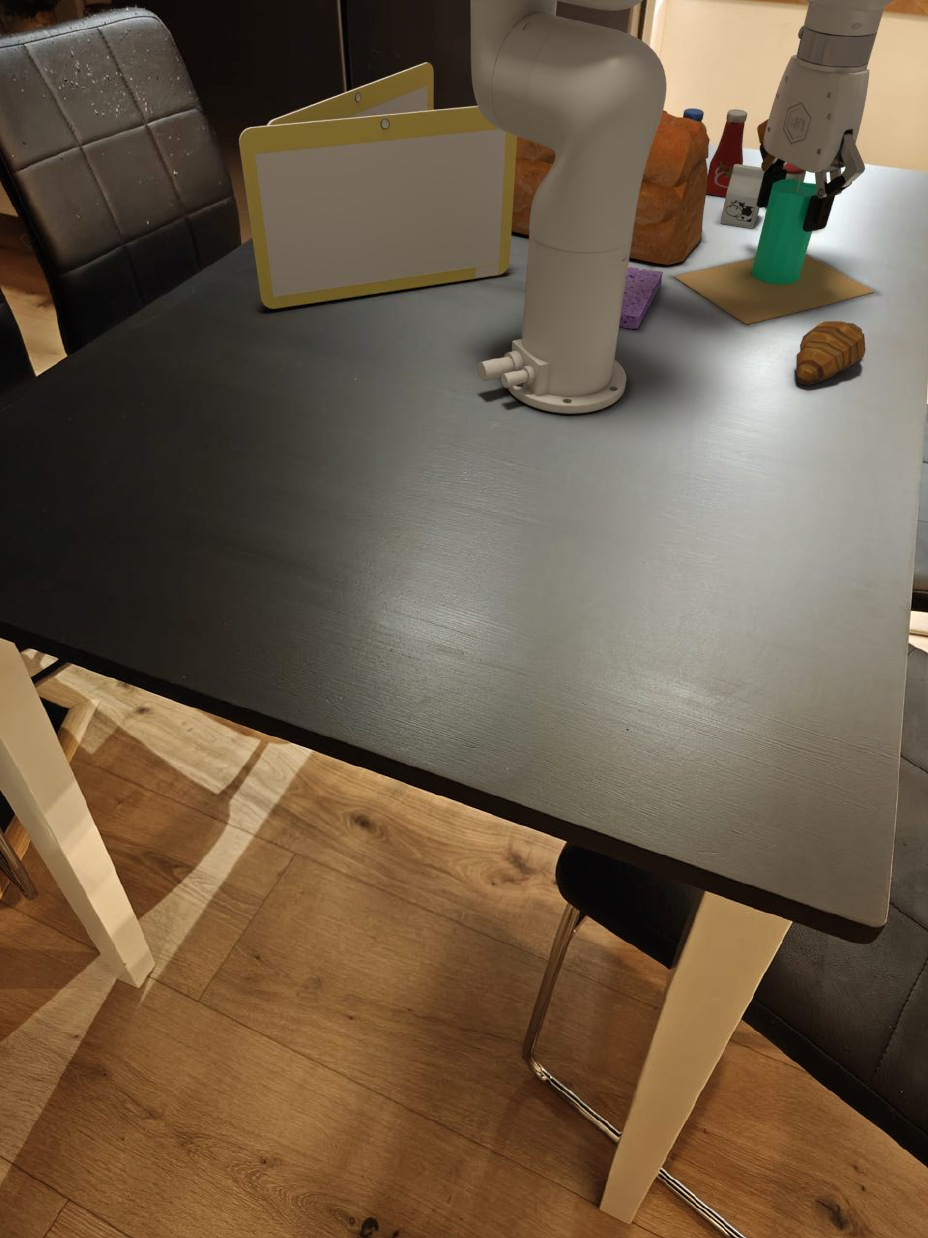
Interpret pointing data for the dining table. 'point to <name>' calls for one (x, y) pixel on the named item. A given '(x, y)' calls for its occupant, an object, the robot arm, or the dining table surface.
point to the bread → (641, 190)
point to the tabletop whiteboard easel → (377, 194)
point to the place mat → (771, 290)
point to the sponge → (638, 295)
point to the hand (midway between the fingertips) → (790, 216)
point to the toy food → (736, 172)
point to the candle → (784, 233)
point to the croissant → (828, 351)
